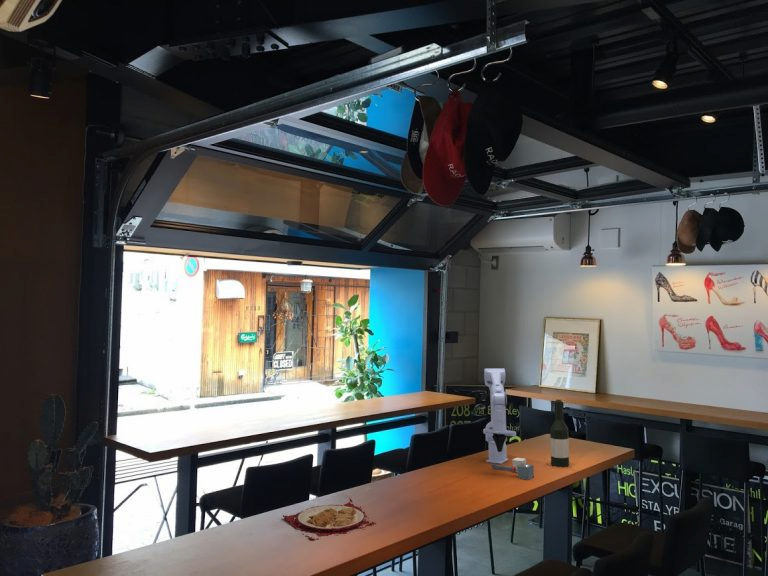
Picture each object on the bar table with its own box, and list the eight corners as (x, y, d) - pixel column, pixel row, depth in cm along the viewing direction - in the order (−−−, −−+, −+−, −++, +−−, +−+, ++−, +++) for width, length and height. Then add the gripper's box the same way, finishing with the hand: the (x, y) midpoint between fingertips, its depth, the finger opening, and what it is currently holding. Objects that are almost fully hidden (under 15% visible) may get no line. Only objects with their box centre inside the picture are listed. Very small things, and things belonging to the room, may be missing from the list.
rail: (494, 467, 273) (494, 463, 273) (532, 472, 263) (532, 468, 264) (491, 468, 271) (491, 464, 271) (530, 474, 261) (530, 469, 261)
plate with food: (282, 521, 207) (281, 510, 207) (350, 505, 220) (349, 496, 221) (311, 544, 186) (310, 533, 186) (384, 526, 199) (384, 515, 199)
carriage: (516, 469, 268) (516, 457, 269) (526, 470, 266) (526, 458, 266) (512, 471, 264) (512, 459, 265) (522, 473, 262) (522, 461, 262)
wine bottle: (571, 467, 272) (570, 401, 274) (553, 467, 272) (551, 401, 274) (566, 462, 280) (565, 398, 282) (548, 462, 281) (547, 398, 282)
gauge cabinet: (522, 475, 260) (522, 462, 260) (533, 476, 257) (533, 464, 257) (517, 478, 255) (517, 465, 255) (529, 479, 252) (528, 467, 252)
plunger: (513, 471, 260) (513, 465, 260) (522, 472, 258) (522, 466, 258) (511, 472, 258) (511, 466, 258) (520, 474, 256) (520, 467, 256)
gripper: (480, 420, 264) (480, 451, 263) (511, 423, 256) (512, 455, 255) (486, 417, 270) (487, 448, 269) (517, 420, 262) (518, 451, 261)
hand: (499, 451), depth 263 cm, fingers closed
